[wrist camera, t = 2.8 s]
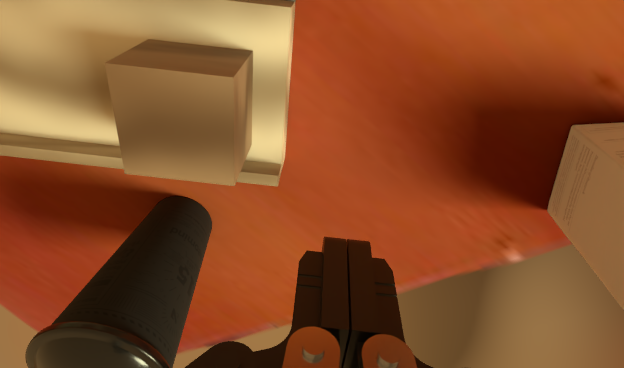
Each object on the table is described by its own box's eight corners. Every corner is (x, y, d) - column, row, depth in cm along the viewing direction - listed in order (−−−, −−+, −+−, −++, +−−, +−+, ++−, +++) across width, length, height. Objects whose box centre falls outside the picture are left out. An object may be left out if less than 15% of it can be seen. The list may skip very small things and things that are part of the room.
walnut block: (148, 39, 23) (104, 63, 18) (253, 50, 23) (233, 77, 18) (159, 134, 26) (124, 173, 22) (251, 144, 26) (234, 186, 22)
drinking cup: (178, 266, 36) (33, 567, 19) (117, 205, 32) (-128, 502, 15) (247, 235, 33) (152, 548, 16) (188, 165, 30) (-7, 467, 13)
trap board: (-306, -236, 19) (-443, -272, 16) (306, -166, 19) (299, -188, 16) (-124, 111, 29) (-186, 134, 26) (284, 157, 29) (277, 186, 26)
